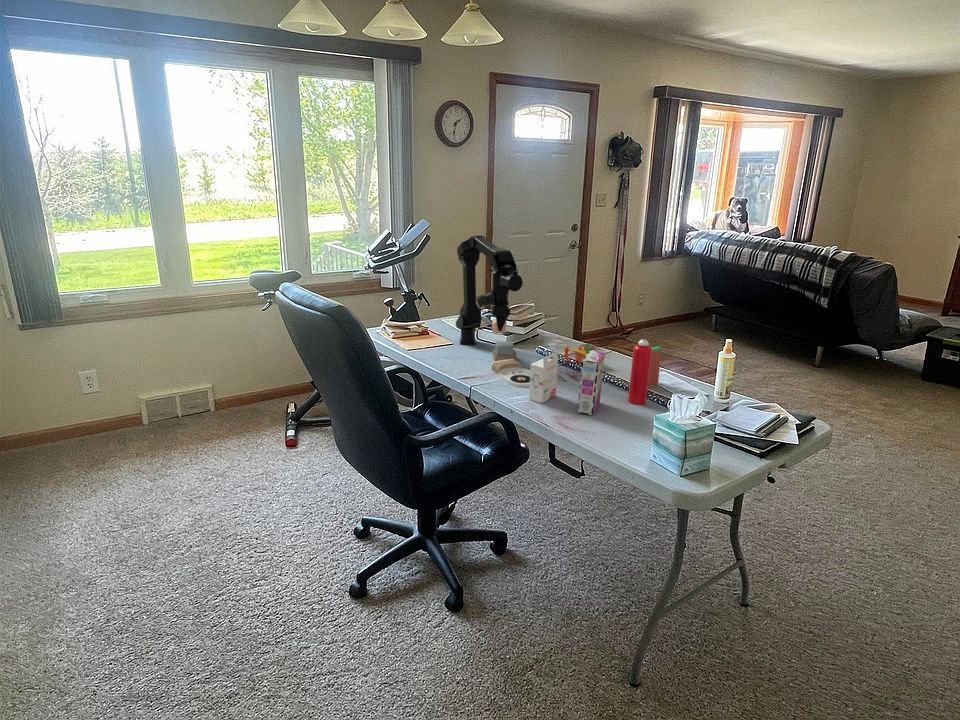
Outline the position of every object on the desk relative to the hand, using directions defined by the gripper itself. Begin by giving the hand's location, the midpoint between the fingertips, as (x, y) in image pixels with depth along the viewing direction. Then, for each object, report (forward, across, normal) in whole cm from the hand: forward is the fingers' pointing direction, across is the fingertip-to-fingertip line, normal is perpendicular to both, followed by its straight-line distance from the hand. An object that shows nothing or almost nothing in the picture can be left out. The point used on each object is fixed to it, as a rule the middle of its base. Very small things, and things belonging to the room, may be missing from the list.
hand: (499, 328), depth 208 cm
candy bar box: (+13, +42, +25) cm, 51 cm away
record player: (+13, +16, +5) cm, 21 cm away
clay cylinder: (+1, 0, 0) cm, 1 cm away
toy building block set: (+13, +10, +38) cm, 41 cm away
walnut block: (+13, 0, +2) cm, 13 cm away
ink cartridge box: (+13, +35, +12) cm, 39 cm away
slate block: (+9, 0, +2) cm, 9 cm away
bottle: (+13, +37, +41) cm, 57 cm away
